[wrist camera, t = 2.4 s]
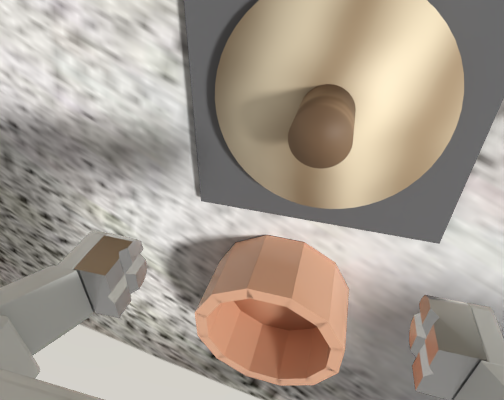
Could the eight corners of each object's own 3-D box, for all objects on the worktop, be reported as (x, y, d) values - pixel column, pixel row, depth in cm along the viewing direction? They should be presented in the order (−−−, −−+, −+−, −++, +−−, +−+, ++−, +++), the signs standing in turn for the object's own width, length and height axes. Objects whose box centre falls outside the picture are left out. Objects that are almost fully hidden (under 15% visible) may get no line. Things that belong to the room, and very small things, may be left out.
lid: (507, -29, 16) (552, -23, 12) (417, 216, 24) (427, 267, 20) (214, -36, 19) (173, -33, 15) (224, 184, 27) (199, 224, 23)
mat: (575, -84, 15) (584, -85, 14) (437, 236, 25) (439, 243, 25) (183, -83, 19) (176, -84, 18) (204, 195, 29) (201, 201, 28)
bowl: (358, 252, 28) (356, 313, 23) (335, 339, 35) (330, 399, 30) (217, 225, 31) (189, 275, 26) (222, 311, 38) (201, 363, 33)
